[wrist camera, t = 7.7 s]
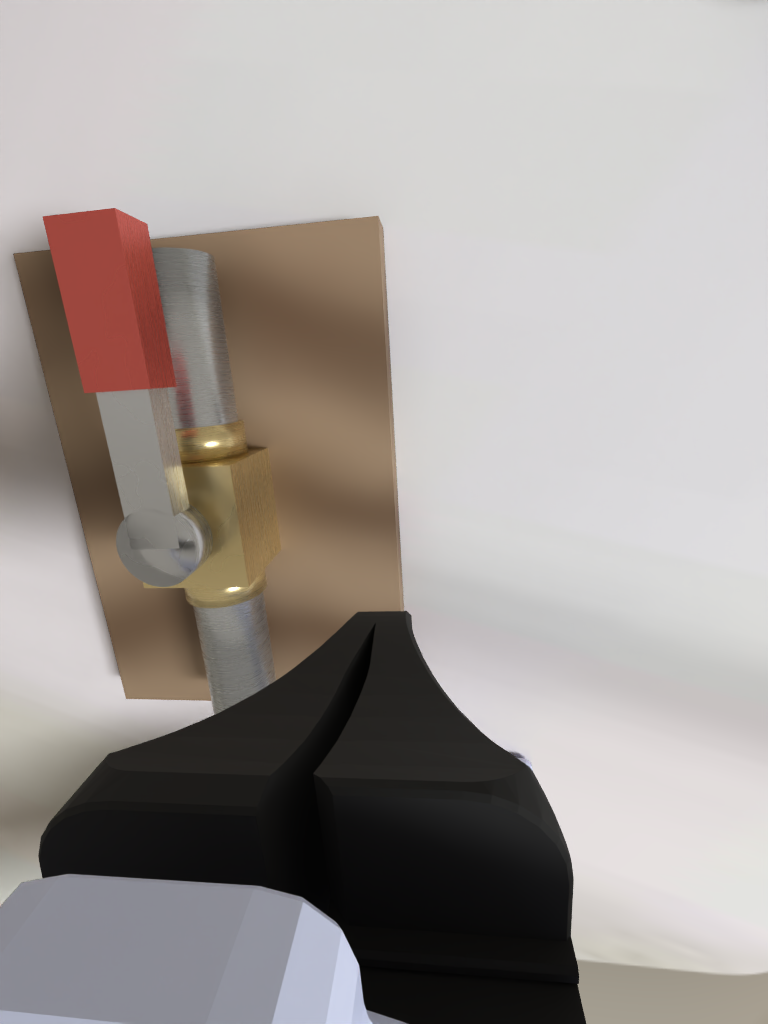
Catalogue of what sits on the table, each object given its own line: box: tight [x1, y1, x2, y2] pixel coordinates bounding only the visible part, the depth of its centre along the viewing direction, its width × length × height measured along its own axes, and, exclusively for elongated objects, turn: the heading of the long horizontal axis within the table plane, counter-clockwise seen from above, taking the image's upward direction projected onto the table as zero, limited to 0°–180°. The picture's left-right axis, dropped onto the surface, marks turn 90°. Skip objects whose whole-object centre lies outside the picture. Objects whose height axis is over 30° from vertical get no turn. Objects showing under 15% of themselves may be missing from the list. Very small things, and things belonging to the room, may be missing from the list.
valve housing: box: [143, 247, 281, 715], centre depth 18 cm, size 18×4×4 cm, turn 4°
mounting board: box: [13, 216, 404, 701], centre depth 21 cm, size 20×14×2 cm
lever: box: [43, 208, 213, 587], centre depth 14 cm, size 10×3×2 cm, turn 4°
